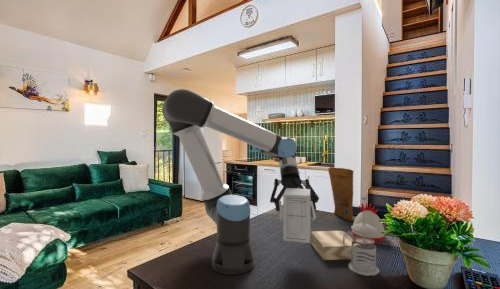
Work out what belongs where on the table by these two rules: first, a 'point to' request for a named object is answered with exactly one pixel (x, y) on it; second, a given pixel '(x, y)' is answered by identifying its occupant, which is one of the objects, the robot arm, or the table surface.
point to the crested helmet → (369, 223)
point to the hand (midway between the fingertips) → (297, 218)
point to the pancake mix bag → (342, 191)
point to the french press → (363, 250)
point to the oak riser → (332, 244)
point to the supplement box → (296, 215)
